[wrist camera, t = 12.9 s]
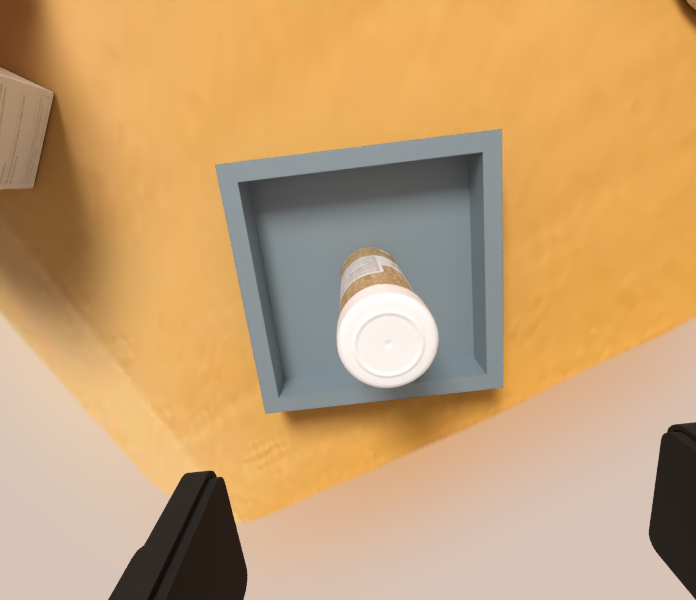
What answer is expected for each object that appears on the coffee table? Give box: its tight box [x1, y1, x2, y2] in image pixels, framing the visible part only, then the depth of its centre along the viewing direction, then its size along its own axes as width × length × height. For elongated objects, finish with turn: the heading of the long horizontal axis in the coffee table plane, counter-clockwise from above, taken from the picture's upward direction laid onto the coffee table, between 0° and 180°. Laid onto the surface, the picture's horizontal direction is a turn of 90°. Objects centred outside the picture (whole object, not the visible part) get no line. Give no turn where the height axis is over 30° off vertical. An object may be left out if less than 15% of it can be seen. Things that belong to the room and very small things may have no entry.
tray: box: [215, 129, 503, 414], centre depth 29 cm, size 18×18×4 cm
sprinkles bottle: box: [336, 247, 439, 388], centre depth 23 cm, size 5×5×14 cm
